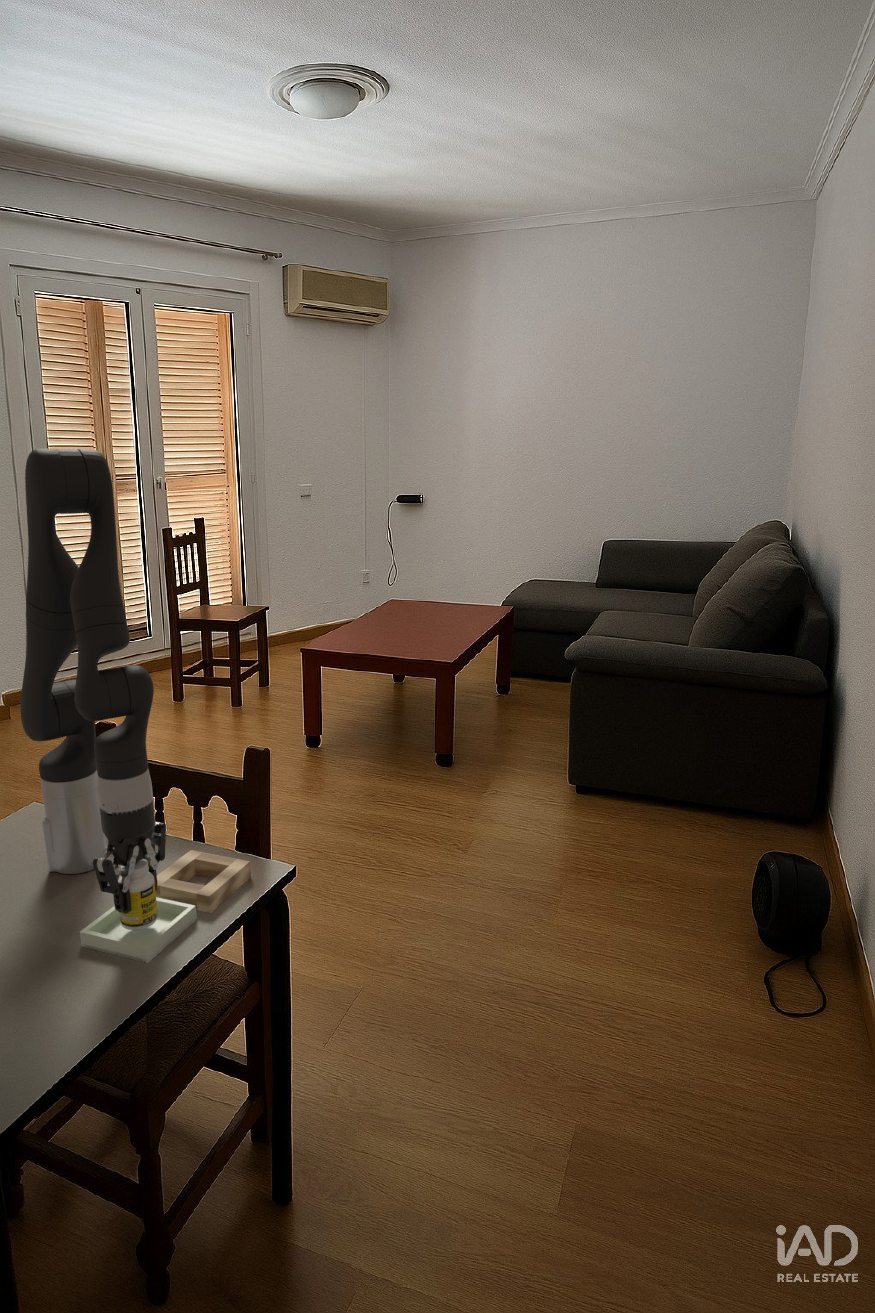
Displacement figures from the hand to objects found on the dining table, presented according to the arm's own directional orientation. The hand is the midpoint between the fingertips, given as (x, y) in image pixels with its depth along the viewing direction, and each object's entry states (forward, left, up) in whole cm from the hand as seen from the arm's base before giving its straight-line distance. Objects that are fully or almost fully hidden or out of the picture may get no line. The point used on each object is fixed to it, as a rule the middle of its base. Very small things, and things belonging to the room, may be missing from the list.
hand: (137, 901), depth 133 cm
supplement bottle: (0, 0, -4) cm, 4 cm away
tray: (0, 0, -5) cm, 5 cm away
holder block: (+8, +12, -5) cm, 15 cm away
